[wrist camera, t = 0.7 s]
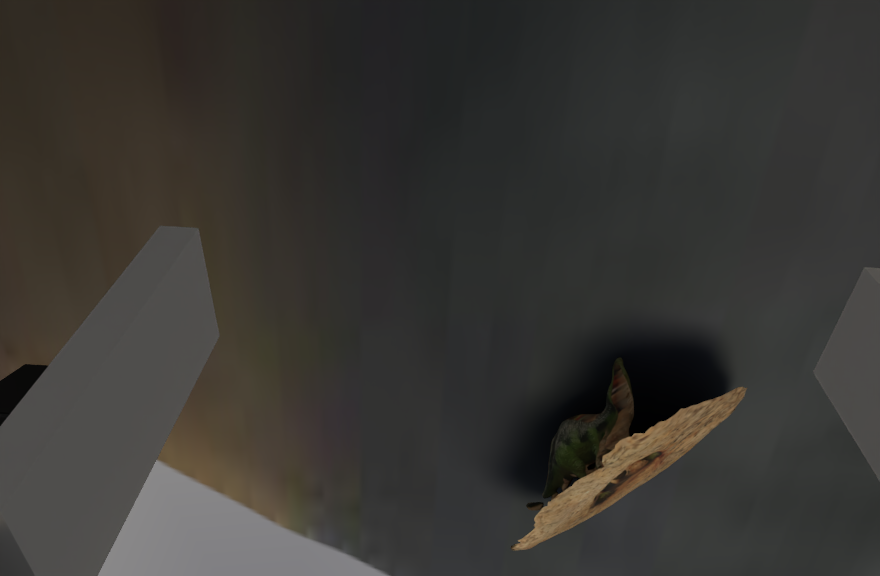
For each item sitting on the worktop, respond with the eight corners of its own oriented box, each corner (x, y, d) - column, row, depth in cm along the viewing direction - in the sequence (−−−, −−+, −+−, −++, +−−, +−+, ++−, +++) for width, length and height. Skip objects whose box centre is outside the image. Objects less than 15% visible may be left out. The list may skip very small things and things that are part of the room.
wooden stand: (619, 433, 54) (664, 525, 50) (458, 462, 49) (493, 568, 44) (753, 298, 41) (830, 406, 36) (553, 316, 35) (615, 447, 31)
